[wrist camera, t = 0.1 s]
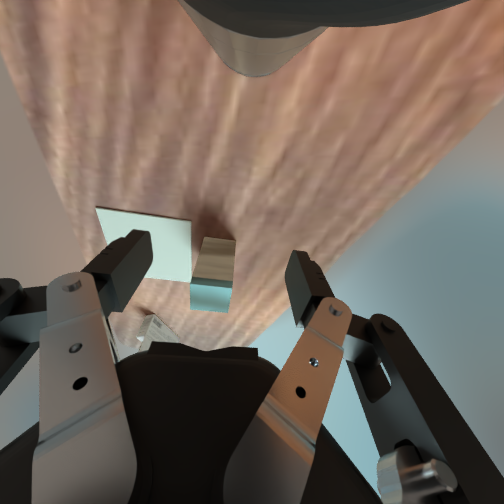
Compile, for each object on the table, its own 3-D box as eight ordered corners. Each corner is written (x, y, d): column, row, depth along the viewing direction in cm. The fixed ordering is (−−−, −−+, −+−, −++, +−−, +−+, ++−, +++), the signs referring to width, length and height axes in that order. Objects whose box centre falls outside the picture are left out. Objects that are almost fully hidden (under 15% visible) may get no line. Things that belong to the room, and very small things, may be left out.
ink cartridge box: (172, 339, 51) (158, 383, 43) (145, 314, 44) (123, 361, 36) (180, 337, 50) (168, 381, 43) (155, 312, 44) (135, 359, 36)
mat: (96, 207, 28) (95, 208, 28) (191, 221, 30) (190, 222, 29) (118, 273, 36) (117, 274, 36) (191, 281, 38) (191, 282, 37)
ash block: (204, 236, 31) (189, 283, 24) (235, 240, 32) (232, 288, 24) (203, 260, 34) (190, 309, 27) (232, 264, 35) (227, 312, 27)
